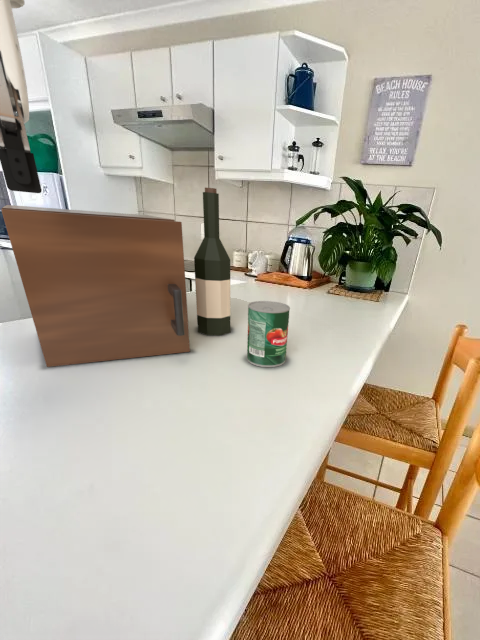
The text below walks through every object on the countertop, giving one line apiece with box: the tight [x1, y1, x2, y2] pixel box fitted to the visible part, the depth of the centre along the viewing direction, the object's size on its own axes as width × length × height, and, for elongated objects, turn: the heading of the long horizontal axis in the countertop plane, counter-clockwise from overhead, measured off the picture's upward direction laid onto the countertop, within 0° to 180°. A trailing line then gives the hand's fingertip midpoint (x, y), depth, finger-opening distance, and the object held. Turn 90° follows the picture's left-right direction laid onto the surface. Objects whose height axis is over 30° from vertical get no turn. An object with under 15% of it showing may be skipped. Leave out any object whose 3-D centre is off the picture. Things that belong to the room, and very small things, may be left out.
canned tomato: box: [246, 300, 291, 368], centre depth 63 cm, size 8×8×11 cm
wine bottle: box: [193, 187, 231, 336], centre depth 72 cm, size 8×8×30 cm
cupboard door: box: [0, 208, 191, 368], centre depth 53 cm, size 6×24×24 cm, turn 118°
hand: (25, 191), depth 38 cm, fingers closed
